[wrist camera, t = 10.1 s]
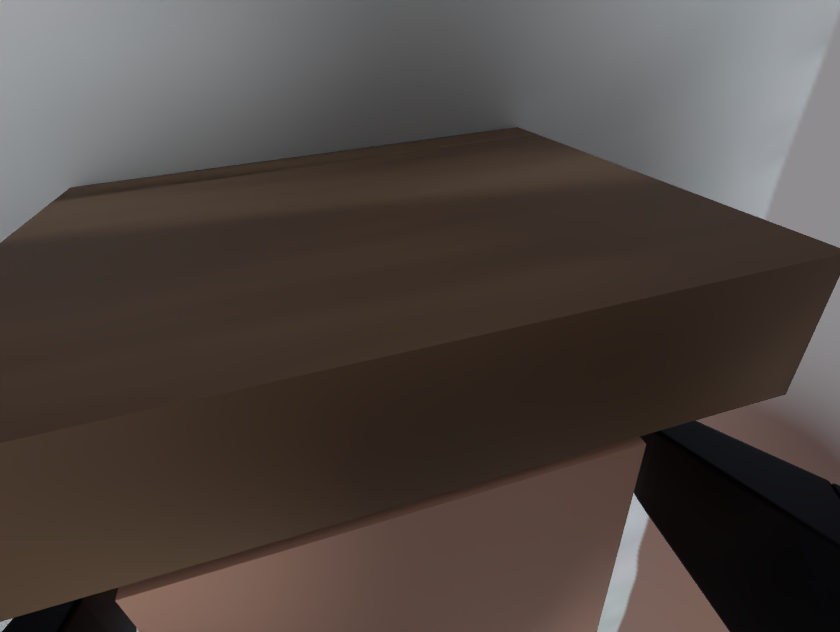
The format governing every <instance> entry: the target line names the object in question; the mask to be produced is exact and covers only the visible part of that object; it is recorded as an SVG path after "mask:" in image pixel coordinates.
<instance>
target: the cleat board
mask: <svg viewBox="0 0 840 632" xmlns="http://www.w3.org/2000/svg"><path fill="white" fill-rule="evenodd" d="M839 276H840V248H838V247H835V246H833V245H830V244H827V243H825V242H822V241H819V240H817V239H814V238H811V237H809V236H806V235H803V234H801V233H798V232H795V231H793V230H790V229H787V228H785V227H782V226H779V225H776V224H774V223H771V222H769V221H766V220H763V219H761V218H758V217H755V216H753V215H750V214H747V213H745V212H742V211H739V210H737V209H734V208H731V207H729V206H726V205H723V204H721V203H718V202H715V201H713V200H710V199H707V198H705V197H702V196H699V195H697V194H694V193H691V192H689V191H686V190H683V189H681V188H678V187H675V186H673V185H670V184H667V183H665V182H662V181H659V180H657V179H654V178H651V177H649V176H646V175H643V174H641V173H638V172H635V171H633V170H630V169H627V168H625V167H622V166H619V165H617V164H614V163H611V162H609V161H606V160H603V159H601V158H598V157H595V156H593V155H590V154H587V153H585V152H582V151H579V150H577V149H574V148H571V147H569V146H566V145H563V144H561V143H558V142H555V141H553V140H550V139H547V138H545V137H542V136H539V135H537V134H534V133H531V132H529V131H526V130H523V129H521V128H518V127H516V128H509V129H501V130H494V131H486V132H479V133H472V134H464V135H457V136H449V137H442V138H435V139H427V140H420V141H413V142H405V143H398V144H390V145H383V146H376V147H368V148H361V149H354V150H346V151H339V152H331V153H324V154H317V155H309V156H302V157H294V158H287V159H280V160H272V161H265V162H258V163H250V164H243V165H235V166H228V167H221V168H213V169H206V170H198V171H191V172H184V173H176V174H169V175H162V176H154V177H147V178H139V179H132V180H125V181H117V182H110V183H102V184H95V185H88V186H80V187H73V188H69V189H68V190H67V191H66V192H64V193H63V194H62V195H60V196H59V197H58V198H57V199H55V200H54V201H53V202H52V203H50V204H49V205H48V206H47V207H45V208H44V209H43V210H42V211H40V212H39V213H38V214H36V215H35V216H34V217H33V218H31V219H30V220H29V221H28V222H26V223H25V224H24V225H23V226H21V227H20V228H19V229H18V230H16V231H15V232H14V233H12V234H11V235H10V236H9V237H7V238H6V239H5V240H4V241H2V242H1V243H0V622H1V621H4V620H8V619H11V618H14V617H18V616H21V615H25V614H28V613H32V612H35V611H39V610H42V609H46V608H49V607H52V606H56V605H59V604H63V603H66V602H70V601H73V600H77V599H80V598H84V597H87V596H90V595H94V594H97V593H101V592H104V591H108V590H111V589H115V588H118V587H122V586H125V585H128V584H132V583H135V582H139V581H142V580H146V579H149V578H153V577H156V576H160V575H163V574H166V573H170V572H173V571H177V570H180V569H184V568H187V567H191V566H194V565H198V564H201V563H204V562H208V561H211V560H215V559H218V558H222V557H225V556H229V555H232V554H236V553H239V552H242V551H246V550H249V549H253V548H256V547H260V546H263V545H267V544H270V543H274V542H277V541H280V540H284V539H287V538H291V537H294V536H298V535H301V534H305V533H308V532H311V531H315V530H318V529H322V528H325V527H329V526H332V525H336V524H339V523H343V522H346V521H349V520H353V519H356V518H360V517H363V516H367V515H370V514H374V513H377V512H381V511H384V510H387V509H391V508H394V507H398V506H401V505H405V504H408V503H412V502H415V501H419V500H422V499H425V498H429V497H432V496H436V495H439V494H443V493H446V492H450V491H453V490H457V489H460V488H463V487H467V486H470V485H474V484H477V483H481V482H484V481H488V480H491V479H495V478H498V477H501V476H505V475H508V474H512V473H515V472H519V471H522V470H526V469H529V468H533V467H536V466H539V465H543V464H546V463H550V462H553V461H557V460H560V459H564V458H567V457H571V456H574V455H577V454H581V453H584V452H588V451H591V450H595V449H598V448H602V447H605V446H609V445H612V444H615V443H619V442H622V441H626V440H629V439H633V438H636V437H640V436H643V435H646V434H650V433H653V432H657V431H660V430H664V429H667V428H671V427H674V426H678V425H681V424H684V423H688V422H691V421H695V420H698V419H702V418H705V417H708V416H712V415H715V414H719V413H722V412H726V411H729V410H733V409H736V408H739V407H743V406H746V405H750V404H754V403H757V402H760V401H764V400H767V399H770V398H774V397H778V396H781V395H785V394H786V392H787V390H788V388H789V386H790V384H791V381H792V379H793V377H794V375H795V373H796V370H797V368H798V366H799V364H800V362H801V359H802V357H803V355H804V353H805V351H806V348H807V346H808V344H809V342H810V340H811V337H812V335H813V333H814V331H815V329H816V326H817V324H818V322H819V320H820V318H821V315H822V313H823V311H824V309H825V307H826V304H827V302H828V300H829V298H830V296H831V293H832V291H833V289H834V287H835V285H836V282H837V280H838V278H839Z"/></svg>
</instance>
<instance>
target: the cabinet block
mask: <svg viewBox="0 0 840 632" xmlns="http://www.w3.org/2000/svg"><path fill="white" fill-rule="evenodd" d="M645 447H646V443H645V442H644V441H643V440H642V439H641V438H640V437H636V438H633V439H629V440H626V441H622V442H619V443H615V444H612V445H609V446H605V447H602V448H598V449H595V450H591V451H588V452H584V453H581V454H577V455H574V456H571V457H567V458H564V459H560V460H557V461H553V462H550V463H546V464H543V465H539V466H536V467H533V468H529V469H526V470H522V471H519V472H515V473H512V474H508V475H505V476H501V477H498V478H495V479H491V480H488V481H484V482H481V483H477V484H474V485H470V486H467V487H463V488H460V489H457V490H453V491H450V492H446V493H443V494H439V495H436V496H432V497H429V498H425V499H422V500H419V501H415V502H412V503H408V504H405V505H401V506H398V507H394V508H391V509H387V510H384V511H381V512H377V513H374V514H370V515H367V516H363V517H360V518H356V519H353V520H349V521H346V522H343V523H339V524H336V525H332V526H329V527H325V528H322V529H318V530H315V531H311V532H308V533H305V534H301V535H298V536H294V537H291V538H287V539H284V540H280V541H277V542H274V543H270V544H267V545H263V546H260V547H256V548H253V549H249V550H246V551H242V552H239V553H236V554H232V555H229V556H225V557H222V558H218V559H215V560H211V561H208V562H204V563H201V564H198V565H194V566H191V567H187V568H184V569H180V570H177V571H173V572H170V573H166V574H163V575H160V576H156V577H153V578H149V579H146V580H142V581H139V582H135V583H132V584H128V585H125V586H122V587H119V588H118V592H117V596H116V599H115V601H116V602H117V604H118V605H119V606H120V607H121V609H122V610H123V611H124V612H125V614H126V615H127V616H128V617H129V619H130V620H131V621H132V622H133V624H134V625H135V626H136V627H137V629H138V630H139V631H140V632H597V629H598V625H599V621H600V617H601V614H602V610H603V606H604V602H605V598H606V595H607V591H608V587H609V583H610V579H611V576H612V572H613V568H614V564H615V561H616V557H617V553H618V549H619V545H620V542H621V538H622V534H623V530H624V527H625V523H626V519H627V515H628V511H629V508H630V504H631V500H632V496H633V492H634V489H635V485H636V481H637V477H638V474H639V470H640V466H641V462H642V458H643V455H644V451H645Z"/></svg>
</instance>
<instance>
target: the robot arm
mask: <svg viewBox="0 0 840 632" xmlns="http://www.w3.org/2000/svg"><path fill="white" fill-rule="evenodd" d="M640 438H641V439H642V440H643V441H644V442H645V443H646V447H645V451H644V455H643V458H642V462H641V466H640V470H639V474H638V477H637V481H636V485H635V489H634V494H635V496H636V497H637V499H638V500H639V502H640V503H641V505H642V506H643V508H644V509H645V511H646V512H647V514H648V515H649V517H650V518H651V520H652V521H653V522H654V524H655V525H656V527H657V528H658V529H659V531H660V532H661V534H662V535H663V537H664V538H665V540H666V541H667V542H668V544H669V545H670V547H671V548H672V550H673V551H674V552H675V554H676V555H677V557H678V558H679V560H680V561H681V563H682V564H683V565H684V567H685V568H686V570H687V571H688V572H689V574H690V575H691V577H692V578H693V580H694V581H695V582H696V584H697V585H698V587H699V588H700V590H701V591H702V593H703V594H704V595H705V597H706V598H707V600H708V601H709V602H710V604H711V606H712V607H713V608H714V610H715V611H716V613H717V614H718V615H719V617H720V618H721V620H722V621H723V623H724V624H725V626H726V627H727V628H728V630H729V631H730V632H840V486H839V485H837V484H835V483H832V484H831V483H830V482H829V481H828V480H826V479H824V478H821V477H819V476H817V475H815V474H813V473H810V472H808V471H806V470H804V469H802V468H799V467H797V466H795V465H793V464H791V463H788V462H786V461H784V460H782V459H779V458H777V457H775V456H773V455H771V454H768V453H766V452H764V451H762V450H760V449H757V448H755V447H753V446H751V445H748V444H746V443H744V442H742V441H739V440H737V439H735V438H733V437H731V436H728V435H726V434H724V433H722V432H720V431H718V430H715V429H713V428H711V427H709V426H706V425H704V424H702V423H700V422H698V421H691V422H688V423H684V424H681V425H678V426H674V427H671V428H667V429H664V430H660V431H657V432H653V433H650V434H646V435H643V436H640ZM118 588H119V587H118ZM118 588H115V589H111V590H108V591H104V592H101V593H97V594H94V595H90V596H87V597H84V598H80V599H77V600H73V601H70V602H66V603H63V604H59V605H56V606H52V607H49V608H46V609H42V610H39V611H35V612H32V613H28V614H25V615H21V616H18V617H14V618H13V619H12V620H11V622H10V623H9V624H8V625H7V626H6V627H5V629H4V630H3V631H2V632H136V629H137V627H136V626H135V625H134V624H133V622H132V621H131V620H130V619H129V617H128V616H127V615H126V614H125V612H124V611H123V610H122V609H121V607H120V606H119V605H118V604H117V602H116V601H115V599H116V596H117V592H118Z"/></svg>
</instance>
